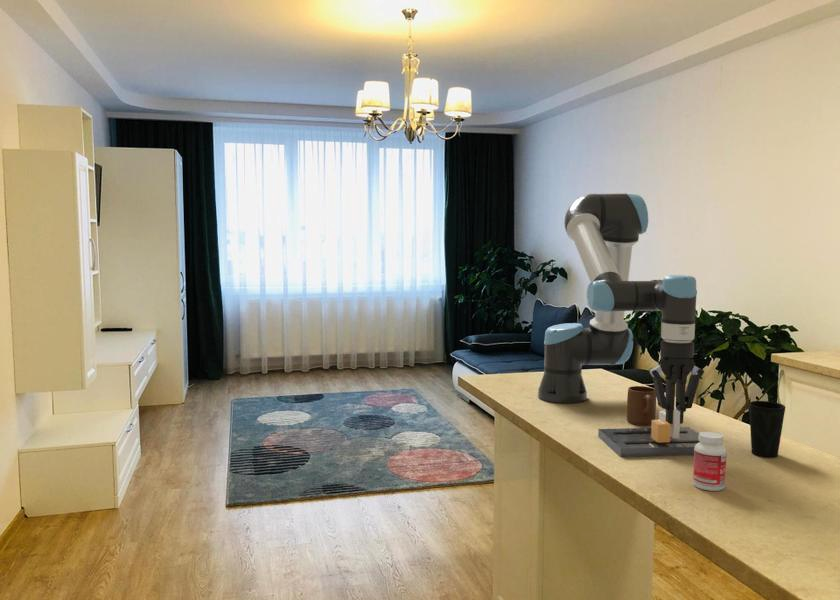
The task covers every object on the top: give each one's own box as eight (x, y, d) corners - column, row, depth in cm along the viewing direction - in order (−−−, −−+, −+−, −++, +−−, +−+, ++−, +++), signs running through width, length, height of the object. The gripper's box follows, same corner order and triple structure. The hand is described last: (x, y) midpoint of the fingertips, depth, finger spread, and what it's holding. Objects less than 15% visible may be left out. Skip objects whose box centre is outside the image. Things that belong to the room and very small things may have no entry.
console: (598, 436, 178) (598, 427, 178) (688, 434, 180) (688, 426, 179) (620, 456, 162) (620, 447, 162) (719, 454, 164) (719, 445, 163)
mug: (664, 430, 183) (666, 396, 182) (636, 430, 183) (637, 396, 182) (650, 418, 195) (651, 385, 194) (623, 418, 195) (624, 385, 194)
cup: (739, 451, 166) (741, 402, 165) (762, 447, 169) (764, 399, 168) (766, 461, 159) (769, 410, 158) (790, 456, 162) (793, 407, 161)
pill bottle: (725, 493, 140) (727, 440, 138) (692, 489, 142) (695, 437, 141) (724, 483, 145) (726, 432, 144) (692, 479, 148) (694, 429, 146)
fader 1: (658, 427, 177) (659, 410, 176) (669, 427, 177) (670, 410, 176) (665, 432, 173) (665, 414, 172) (676, 432, 173) (677, 414, 172)
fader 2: (651, 437, 168) (651, 419, 168) (662, 437, 169) (663, 419, 168) (657, 442, 164) (658, 424, 164) (669, 442, 165) (670, 423, 164)
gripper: (657, 343, 160) (654, 442, 163) (711, 342, 161) (707, 440, 164) (644, 338, 167) (641, 432, 170) (696, 337, 168) (692, 431, 171)
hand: (673, 436), depth 167 cm, fingers closed
